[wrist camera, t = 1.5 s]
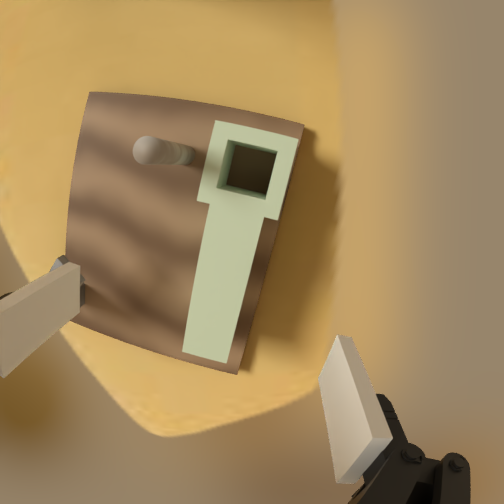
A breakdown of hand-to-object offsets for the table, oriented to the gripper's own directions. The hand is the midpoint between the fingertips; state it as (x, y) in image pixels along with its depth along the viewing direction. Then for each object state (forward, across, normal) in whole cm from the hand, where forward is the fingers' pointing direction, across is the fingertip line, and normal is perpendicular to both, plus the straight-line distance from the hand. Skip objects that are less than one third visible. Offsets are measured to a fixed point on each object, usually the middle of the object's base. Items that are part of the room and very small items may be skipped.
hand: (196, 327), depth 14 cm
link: (+14, 0, +1) cm, 14 cm away
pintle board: (+15, -7, -1) cm, 17 cm away
